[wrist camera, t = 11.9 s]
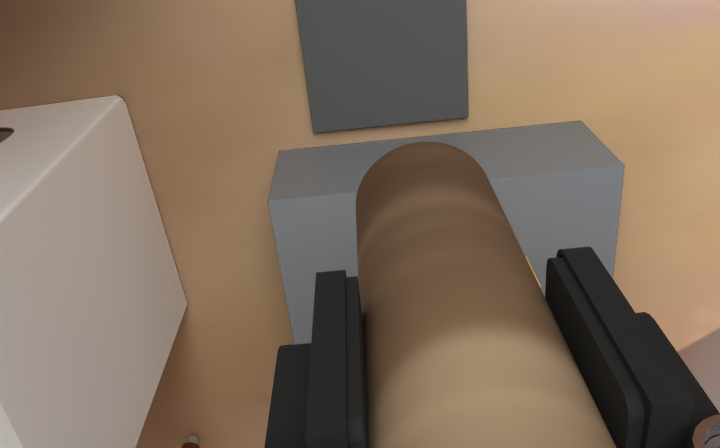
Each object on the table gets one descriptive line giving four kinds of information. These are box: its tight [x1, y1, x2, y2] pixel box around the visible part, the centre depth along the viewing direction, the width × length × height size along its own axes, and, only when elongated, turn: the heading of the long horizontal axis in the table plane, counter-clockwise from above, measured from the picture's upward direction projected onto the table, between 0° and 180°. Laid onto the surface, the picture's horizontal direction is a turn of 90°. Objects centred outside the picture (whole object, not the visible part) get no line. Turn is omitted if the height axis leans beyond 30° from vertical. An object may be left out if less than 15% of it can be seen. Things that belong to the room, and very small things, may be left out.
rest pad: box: [295, 0, 468, 133], centre depth 32 cm, size 8×8×1 cm
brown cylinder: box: [355, 141, 616, 448], centre depth 10 cm, size 4×4×15 cm
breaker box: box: [268, 121, 625, 345], centre depth 34 cm, size 16×16×8 cm
